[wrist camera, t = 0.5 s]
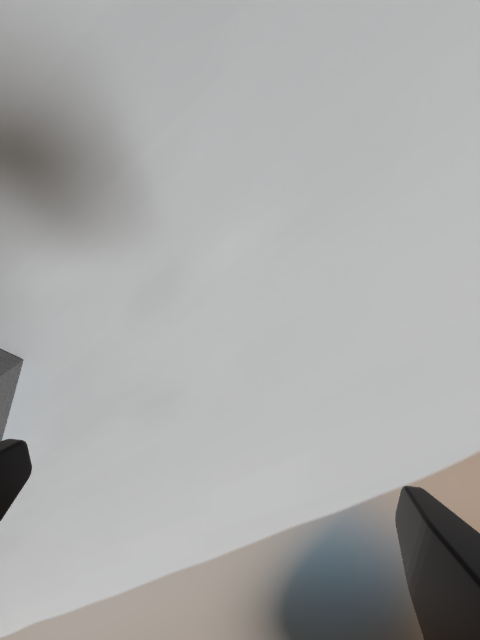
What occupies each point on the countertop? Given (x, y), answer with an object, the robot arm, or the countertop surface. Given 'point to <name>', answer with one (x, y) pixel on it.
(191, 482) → the countertop surface
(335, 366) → the countertop surface
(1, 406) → the block
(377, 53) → the countertop surface
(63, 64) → the countertop surface
